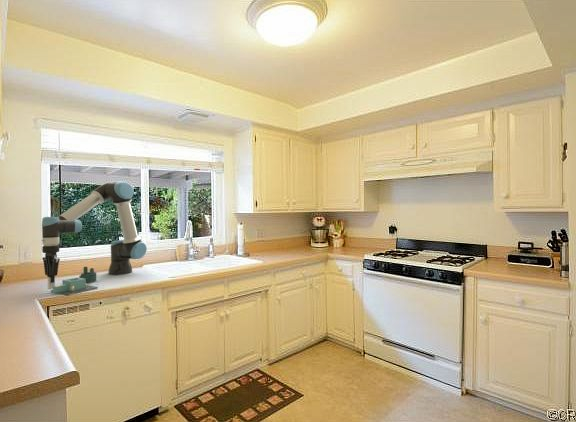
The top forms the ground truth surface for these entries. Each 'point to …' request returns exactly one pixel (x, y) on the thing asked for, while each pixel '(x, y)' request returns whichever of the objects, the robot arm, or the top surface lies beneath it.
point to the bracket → (89, 275)
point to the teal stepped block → (67, 284)
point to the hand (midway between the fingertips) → (51, 288)
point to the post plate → (77, 290)
